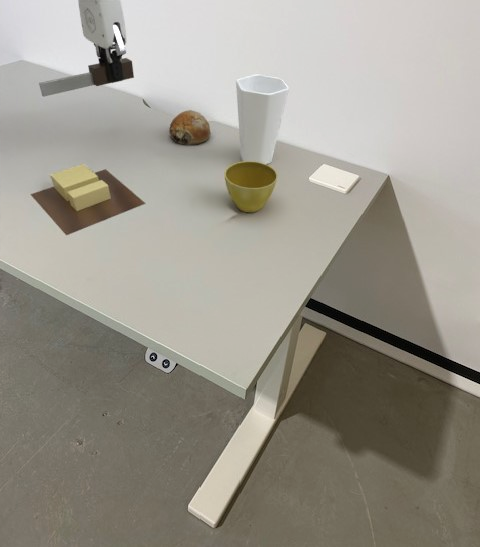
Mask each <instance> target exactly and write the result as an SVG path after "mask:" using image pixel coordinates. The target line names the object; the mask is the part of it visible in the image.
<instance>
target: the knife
mask: <svg viewBox="0 0 480 547" xmlns="http://www.w3.org/2000/svg"><path fill="white" fill-rule="evenodd" d="M121 64H122V71H123V78H124V79H123V81H126V80H130V79H134V78H135V76H134V65H133V60H131V59H129V58H128V57H124V58H123V57H122V61H121ZM87 68H88V72H84V73H79V74H74V75H71V76H66V77H61V78H56V79H52V80H46V81H42V82H38V85H39V89H40V92H41V96H42V97H48V96H53V95H57V94H62V93H65V92H70V91H75V90H79V89H83V88H87V87H92V86H96V87H99V86H104V85H108V84H111V83H110V82H109V78H108V72H107V66H106V62H103V63H99V62H98V63H93V64H89V65H88V66H87Z"/></svg>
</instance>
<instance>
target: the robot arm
mask: <svg viewBox="0 0 480 547" xmlns="http://www.w3.org/2000/svg"><path fill="white" fill-rule="evenodd" d="M77 2H78V11H79V16H80V17H79V18H80V24H81V30H82V34H83V37H85V39H86V40H88V41H89V42H90V43H93V45H94V48H95V54H96V56H97V58H98V59H97V60H98V63H103V62H106V66H107V72H108V78H109V82H110V83H109V84H113V83H120V82H123V81H124V80H123V79H124V78H123V71H122V64H121V61H122V59H123V56H124V55H125V54H127V49H126V47H125V46H126V44H127V30H126V23H125V17H124V11H123V6H122V2H121V0H77Z"/></svg>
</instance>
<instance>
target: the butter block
mask: <svg viewBox="0 0 480 547" xmlns="http://www.w3.org/2000/svg"><path fill="white" fill-rule="evenodd" d="M49 176H50V179H51V183H52V187H54V188H55V189H56V190H57V191H58V192H59V193H60V194H61V195H62V196H63V197H64V199H65V200H66V201H69V196H68V193H67V192H68V191H71V190H74V189H77V188H80V187H83V186H86V185H89V184H92V183H94V182H97V181H99V179H98V176H97V175H96V174H95V172H94V171H93V170H91V169H90V168H89V166H87V165H86V164H85V163H82V164H78V165H76V166H73V167H69V168H66V169H62V170H60V171H56V172H54V173H50V174H49Z"/></svg>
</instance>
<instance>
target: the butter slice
mask: <svg viewBox="0 0 480 547" xmlns="http://www.w3.org/2000/svg"><path fill="white" fill-rule="evenodd" d="M67 193H68V196H69V200H70V203H71V206H72V207H73V208H74V209H75V210H76V211H79V210H82V209H84V208H87V207H90V206H92V205H95V204H98V203H100V202H103V201H106V200H108V199H111V197H110V192H109V187H108V185H107V184H106V183H105V182H104V181H103V180H100V181H97V182H94V183H92V184H89V185H86V186H83V187H80V188H77V189H74V190H71V191H68V192H67Z"/></svg>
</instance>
